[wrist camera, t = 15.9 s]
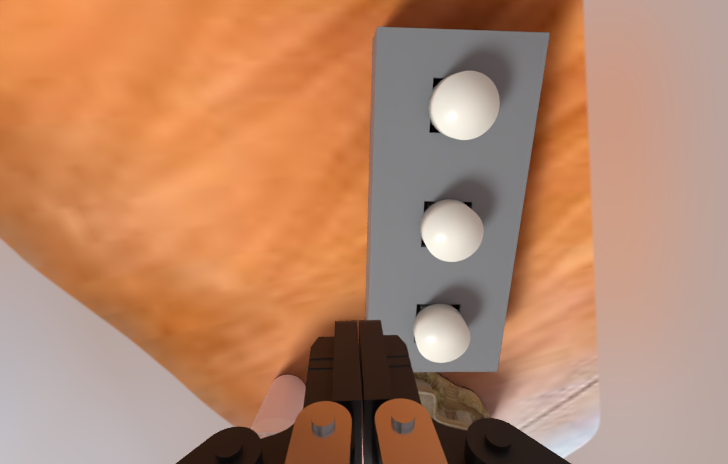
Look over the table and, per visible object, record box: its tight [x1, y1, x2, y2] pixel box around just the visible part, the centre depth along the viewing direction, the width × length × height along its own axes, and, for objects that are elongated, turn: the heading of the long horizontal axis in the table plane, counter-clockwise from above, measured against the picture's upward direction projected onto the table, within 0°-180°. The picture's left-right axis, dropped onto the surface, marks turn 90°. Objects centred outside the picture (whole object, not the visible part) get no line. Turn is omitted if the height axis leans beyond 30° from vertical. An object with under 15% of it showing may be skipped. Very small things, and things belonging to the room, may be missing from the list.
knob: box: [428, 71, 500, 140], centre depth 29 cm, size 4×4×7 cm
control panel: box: [365, 27, 550, 372], centre depth 33 cm, size 28×12×5 cm, turn 179°
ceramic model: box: [413, 372, 490, 431], centre depth 38 cm, size 14×11×10 cm
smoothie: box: [251, 375, 306, 439], centre depth 34 cm, size 6×6×14 cm
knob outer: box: [413, 304, 470, 363], centre depth 34 cm, size 4×4×7 cm
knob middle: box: [420, 199, 484, 262], centre depth 32 cm, size 4×4×7 cm
